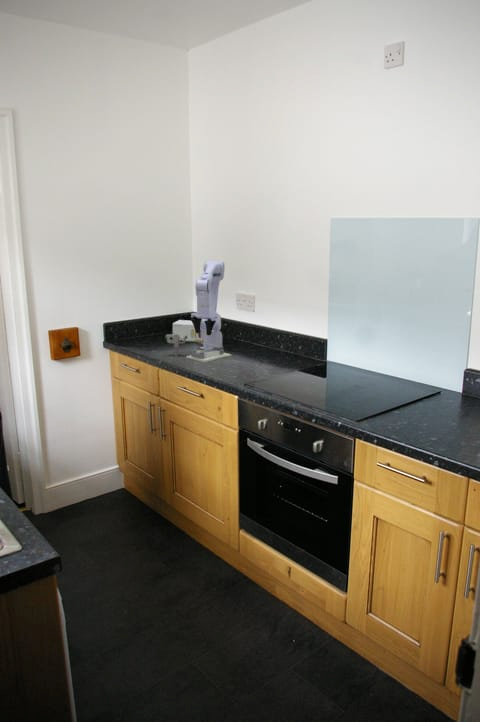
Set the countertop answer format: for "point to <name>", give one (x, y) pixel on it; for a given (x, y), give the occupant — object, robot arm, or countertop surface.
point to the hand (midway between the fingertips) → (203, 334)
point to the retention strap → (208, 344)
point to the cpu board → (208, 354)
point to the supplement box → (187, 330)
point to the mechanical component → (175, 341)
